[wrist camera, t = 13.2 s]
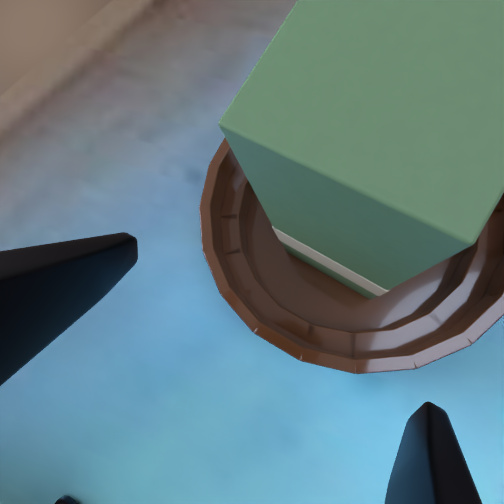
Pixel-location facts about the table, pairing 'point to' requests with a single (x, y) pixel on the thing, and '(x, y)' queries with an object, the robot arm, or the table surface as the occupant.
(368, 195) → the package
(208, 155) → the table surface
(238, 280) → the bowl
